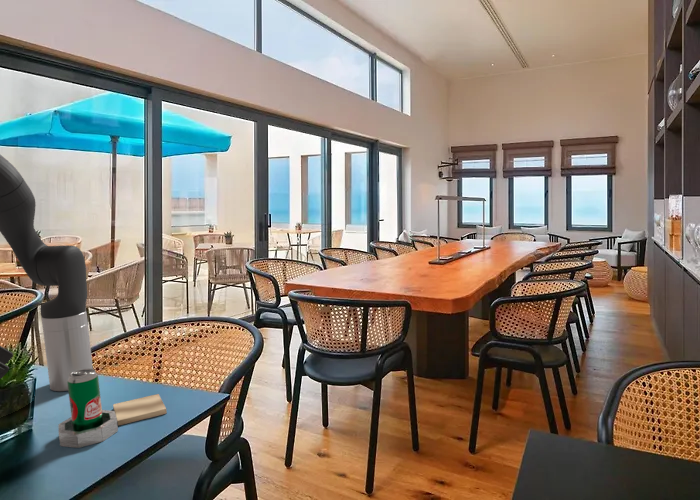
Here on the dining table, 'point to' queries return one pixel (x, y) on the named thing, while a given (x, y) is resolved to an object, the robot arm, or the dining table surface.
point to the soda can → (85, 400)
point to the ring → (87, 432)
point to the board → (139, 409)
